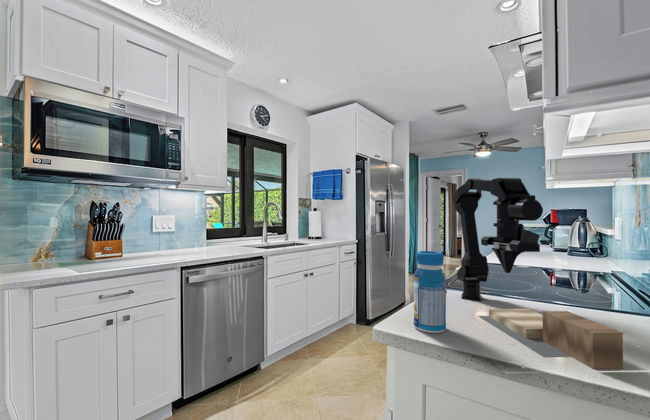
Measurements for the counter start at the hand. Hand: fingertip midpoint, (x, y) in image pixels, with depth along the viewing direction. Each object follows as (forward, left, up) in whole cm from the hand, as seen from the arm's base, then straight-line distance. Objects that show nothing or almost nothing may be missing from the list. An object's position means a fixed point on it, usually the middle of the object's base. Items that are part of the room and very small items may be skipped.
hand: (507, 272), depth 90 cm
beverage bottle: (+20, -20, -13) cm, 31 cm away
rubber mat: (+12, +5, -13) cm, 18 cm away
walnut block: (+16, +8, -9) cm, 20 cm away
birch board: (+7, +4, -13) cm, 15 cm away
